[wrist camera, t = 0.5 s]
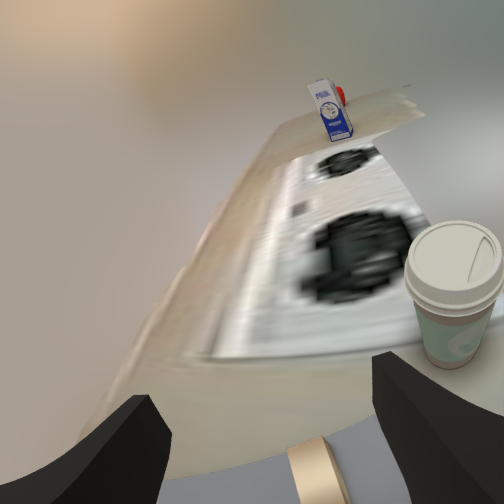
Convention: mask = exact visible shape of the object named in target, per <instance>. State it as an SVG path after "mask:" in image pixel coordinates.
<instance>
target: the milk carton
mask: <svg viewBox="0 0 504 504" xmlns="http://www.w3.org/2000/svg"><path fill="white" fill-rule="evenodd" d="M307 87H308V89H309V91H310V93H311V95H312V97H313V99H314V102H315V104H316V106H317V108H318V111H319V113H320V115H321V117H322V120H323V122H324V124H325V127H326V129H327V131H328V134H329V136H330V139H331V141H332V142H333V141H337V140H341V139H345V138H349V137H352V134H353V128H352V126H351V123H350V121H349V118H348V115H347V113H346V111H345V108H344V106H343V103H342V101H341V98H340V96H339V94H338V92H337V89H336V87H335V85H334V83H333V81H332V80H330V79H320V80H317V81H316V82H315V83H312V84H309V85H307Z"/></svg>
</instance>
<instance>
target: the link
mask: <svg viewBox="0 0 504 504" xmlns="http://www.w3.org/2000/svg"><path fill="white" fill-rule="evenodd" d="M286 450H287V454H288V458H289V461H290V465H291V469H292V473H293V476H294V480H295V484H296V487H297V491H298V495H299V498H300V502H301V504H352V503H351V500H350V497H349V494H348V491H347V489H346V486H345V483H344V480H343V477H342V475H341V472H340V469H339V466H338V464H337V461H336V458H335V455H334V452H333V450H332V447H331V444H330V443H329V442H328V441H327V440H326V439H325V438H324V437H323V436H319V437H317V438H314V439H312V440H309V441H307V442H304V443H301V444H299V445H296V446H293V447H291V448H288V449H286Z"/></svg>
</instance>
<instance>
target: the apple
mask: <svg viewBox="0 0 504 504" xmlns="http://www.w3.org/2000/svg"><path fill="white" fill-rule="evenodd" d="M336 89H337V92H338V94H339V96H340V98H341V101H342V103H343V106H344V105H345V97H344V93H343V90H342V89H341V87H336Z"/></svg>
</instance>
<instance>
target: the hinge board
mask: <svg viewBox="0 0 504 504" xmlns="http://www.w3.org/2000/svg"><path fill="white" fill-rule="evenodd" d="M325 439H326V440H327V441H328V442H329V443H330V444H331V447H332V450H333V452H334V455H335V458H336V461H337V464H338V466H339V469H340V472H341V475H342V477H343V480H344V483H345V486H346V489H347V491H348V494H349V497H350V500H351V503H352V504H412V503H411V499H410V495H409V492H408V488H407V486H406V483H405V480H404V478H403V476H402V473H401V471H400V469H399V467H398V464H397V462H396V460H395V458H394V456H393V453H392V451H391V449H390V447H389V445H388V442H387V440H386V438H385V436H384V434H383V432H382V429H381V427H380V424H379V421H378V419H377V417H376V415H375V414H374V415H372V416H370V417H368V418H366V419H364V420H362V421H360V422H358V423H356V424H354V425H352V426H350V427H348V428H346V429H343V430H341V431H339V432H337V433H334V434H332V435H330V436H328V437H325ZM156 504H301V502H300V498H299V495H298V491H297V487H296V484H295V480H294V476H293V473H292V469H291V465H290V461H289V458H288V454H287V452H286V453H283V454H280V455H277V456H274V457H271V458H267V459H264V460H261V461H257V462H254V463H250V464H247V465H243V466H239V467H235V468H231V469H227V470H223V471H218V472H214V473H209V474H204V475H198V476H193V477H187V478H181V479H174V480H166V481H162V485H161V488H160V492H159V496H158V499H157V503H156Z"/></svg>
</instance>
